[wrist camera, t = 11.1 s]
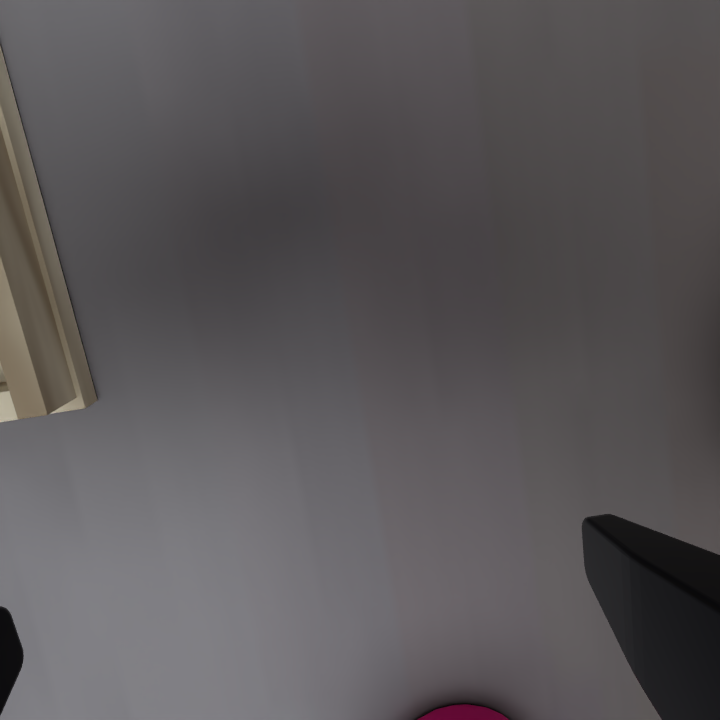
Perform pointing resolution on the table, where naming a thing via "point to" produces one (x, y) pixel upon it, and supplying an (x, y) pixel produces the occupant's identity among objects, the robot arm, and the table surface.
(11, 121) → the divided wooden tray
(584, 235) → the table surface
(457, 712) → the pepper mill
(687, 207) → the table surface
